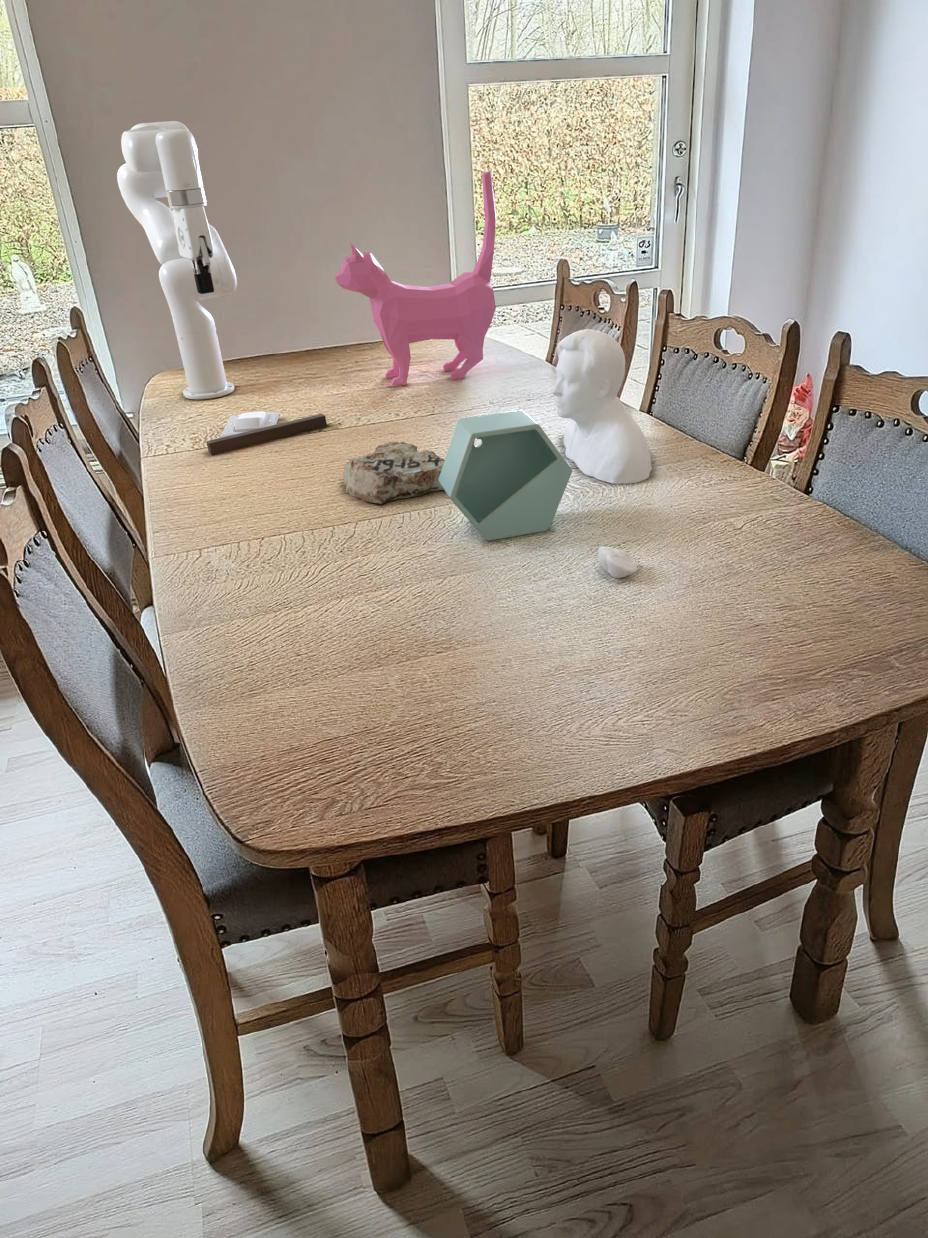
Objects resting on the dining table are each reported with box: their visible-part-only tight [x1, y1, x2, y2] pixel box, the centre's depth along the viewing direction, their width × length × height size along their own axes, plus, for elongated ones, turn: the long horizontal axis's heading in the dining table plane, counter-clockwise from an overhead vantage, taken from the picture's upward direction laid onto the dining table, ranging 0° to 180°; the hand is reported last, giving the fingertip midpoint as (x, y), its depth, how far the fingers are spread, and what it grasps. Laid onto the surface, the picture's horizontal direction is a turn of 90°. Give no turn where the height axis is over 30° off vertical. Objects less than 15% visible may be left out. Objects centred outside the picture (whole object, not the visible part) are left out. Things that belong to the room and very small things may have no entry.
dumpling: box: [597, 545, 642, 579], centre depth 121 cm, size 7×5×4 cm
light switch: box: [220, 410, 280, 438], centre depth 188 cm, size 11×4×13 cm
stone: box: [343, 441, 445, 505], centre depth 157 cm, size 19×6×25 cm
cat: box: [334, 170, 497, 387], centre depth 205 cm, size 13×39×45 cm, turn 104°
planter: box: [438, 409, 573, 542], centre depth 133 cm, size 17×8×21 cm
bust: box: [551, 328, 653, 485], centre depth 155 cm, size 28×19×24 cm
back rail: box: [205, 413, 328, 456], centre depth 182 cm, size 2×26×2 cm, turn 123°
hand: (206, 292), depth 187 cm, fingers closed
